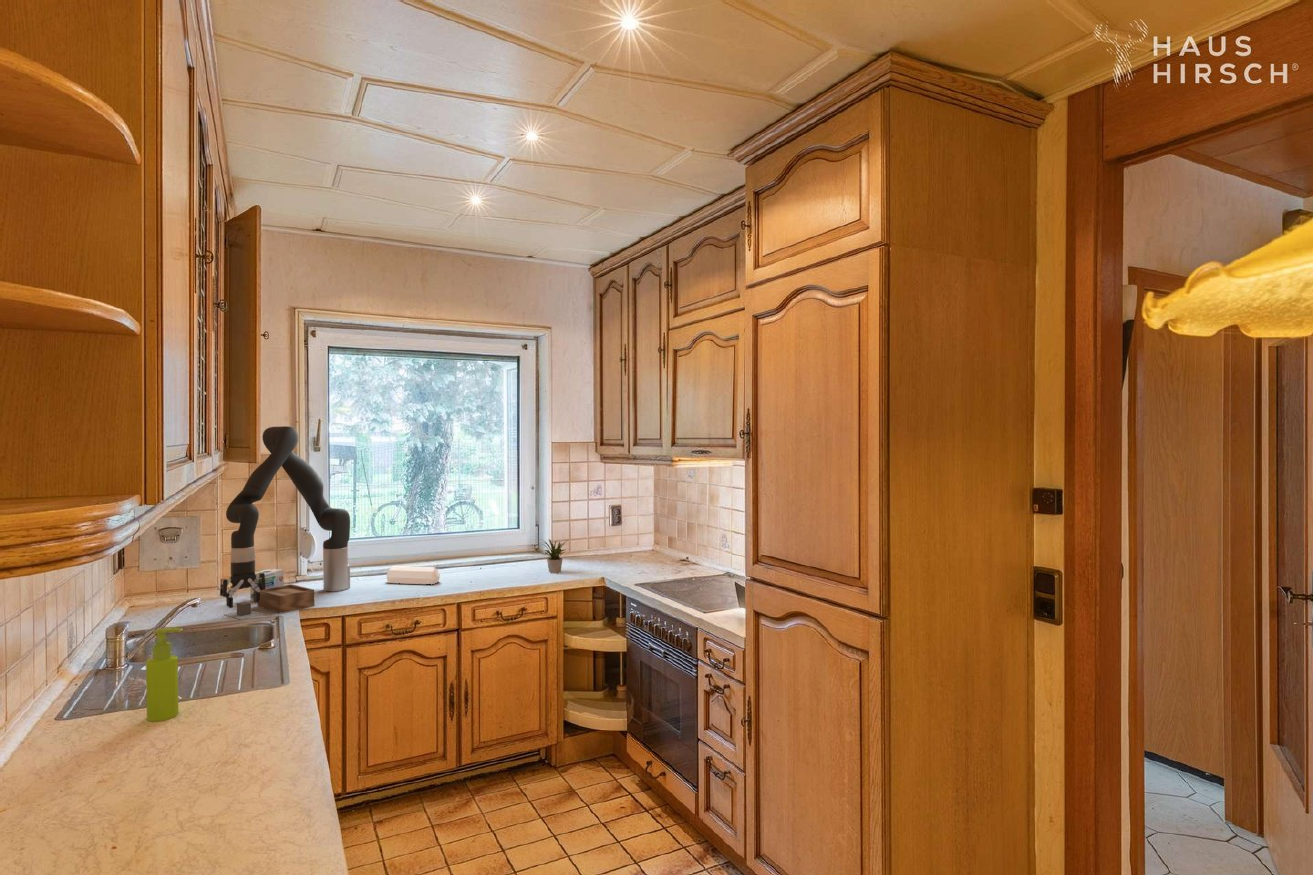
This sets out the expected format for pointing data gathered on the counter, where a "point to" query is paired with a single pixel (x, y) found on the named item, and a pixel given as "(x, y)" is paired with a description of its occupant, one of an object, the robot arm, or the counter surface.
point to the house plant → (554, 557)
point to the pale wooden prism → (413, 575)
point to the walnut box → (286, 598)
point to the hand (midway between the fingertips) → (243, 605)
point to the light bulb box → (270, 579)
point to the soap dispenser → (162, 679)
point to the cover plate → (234, 615)
